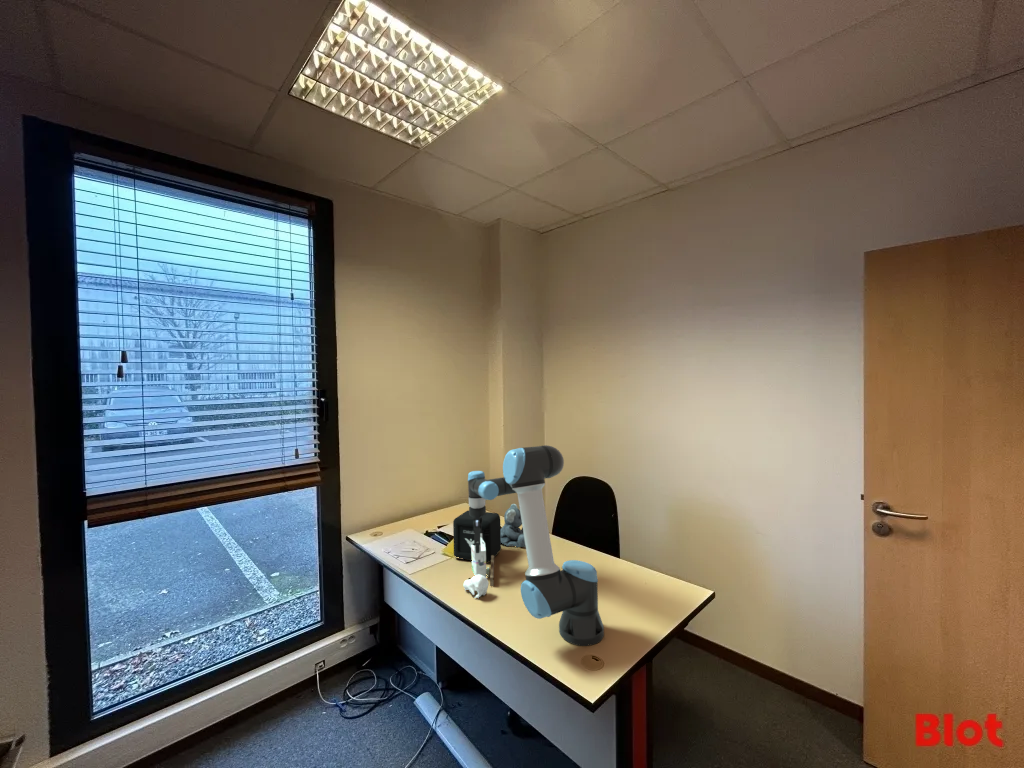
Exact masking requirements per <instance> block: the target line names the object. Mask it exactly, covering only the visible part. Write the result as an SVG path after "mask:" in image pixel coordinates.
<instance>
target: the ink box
mask: <svg viewBox="0 0 1024 768" xmlns="http://www.w3.org/2000/svg"><path fill="white" fill-rule="evenodd" d="M480 540H481V560H475V549H474V545H471V556H472V561H471V568H472V571H473V573H474V575H478V574H480V575H483V576H487V575H486V568H487V563H486V546H485V542H484V541H483V540H482V538H481V537H480ZM482 542H483V543H482Z"/></svg>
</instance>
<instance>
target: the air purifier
mask: <svg viewBox="0 0 1024 768" xmlns="http://www.w3.org/2000/svg"><path fill="white" fill-rule="evenodd" d="M474 518H475V517H472V516H470V515H469V510H466V511H464V512H463V513H461V514H460V515H458V516H457V517H455V518H454V519H453V521H452V522H453V523H452V525H453V526H452V527H453V528H452V530H453V535H452V537H453V556H454V557H455V556H456V557H459V558H463V559H462V560H464V559H467V560H466V561H471V560H472V556H471V545H473V544H474V524H473V520H474ZM481 518H482V530H484V532H482V540H483V541H484V542H485V546H486V562H488V563H491V555H494V558H495V557H496V556H497V555H498V554H499V553H500V552H501V550H502V549H501V547H502V544H501V530H500V529H501V516H500V514H499V513H496V512H489V511H486V514H485V515H484V516H481ZM456 557H455V558H456Z"/></svg>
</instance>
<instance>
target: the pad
mask: <svg viewBox="0 0 1024 768" xmlns="http://www.w3.org/2000/svg"><path fill="white" fill-rule="evenodd" d="M486 568H487V569H486V574H487V575H488V576H487V577H489V578H490V567H486ZM485 577H486V576H485Z"/></svg>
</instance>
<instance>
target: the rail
mask: <svg viewBox="0 0 1024 768" xmlns="http://www.w3.org/2000/svg"><path fill="white" fill-rule="evenodd" d="M494 571H495V557H494V555H491V561H490V570H489V584H490V585H489V586H493V587H494V580H493V578H494V577H495V572H494Z"/></svg>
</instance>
